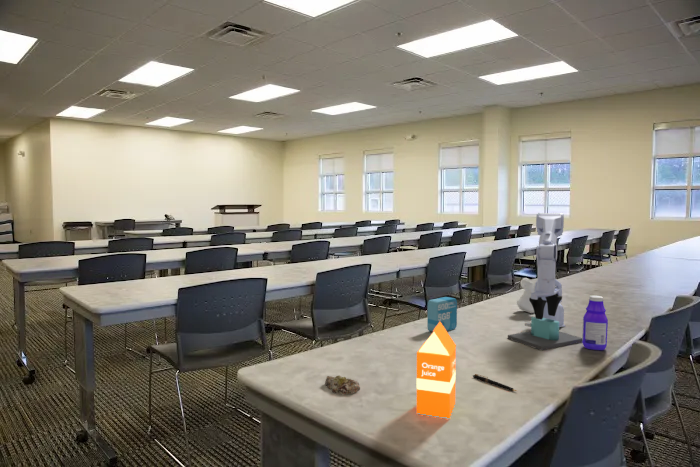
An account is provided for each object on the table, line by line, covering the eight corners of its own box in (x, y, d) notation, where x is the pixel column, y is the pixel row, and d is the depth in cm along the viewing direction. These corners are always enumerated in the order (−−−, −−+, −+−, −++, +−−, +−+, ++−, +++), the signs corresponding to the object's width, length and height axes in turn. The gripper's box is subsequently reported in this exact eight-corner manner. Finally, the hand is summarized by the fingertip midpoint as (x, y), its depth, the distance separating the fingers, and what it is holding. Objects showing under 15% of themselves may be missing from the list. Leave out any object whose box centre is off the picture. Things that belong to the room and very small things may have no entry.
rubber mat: (547, 331, 176) (548, 328, 176) (583, 341, 162) (583, 338, 162) (507, 338, 167) (507, 335, 167) (541, 350, 154) (541, 346, 154)
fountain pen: (519, 393, 120) (520, 387, 120) (517, 394, 119) (517, 389, 119) (473, 377, 131) (473, 372, 131) (470, 378, 130) (471, 373, 130)
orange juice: (415, 414, 108) (416, 328, 107) (424, 399, 116) (424, 319, 115) (450, 419, 105) (451, 332, 104) (456, 404, 113) (456, 322, 112)
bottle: (605, 346, 157) (606, 295, 156) (608, 352, 151) (610, 298, 150) (581, 344, 159) (582, 294, 158) (583, 349, 154) (584, 297, 153)
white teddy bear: (530, 309, 212) (531, 276, 211) (548, 314, 202) (549, 280, 201) (512, 310, 209) (513, 277, 208) (529, 316, 198) (530, 281, 198)
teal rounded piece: (529, 331, 172) (529, 314, 172) (561, 338, 162) (561, 321, 162) (522, 332, 170) (523, 316, 169) (554, 341, 160) (555, 323, 159)
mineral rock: (368, 379, 124) (350, 380, 118) (366, 396, 123) (348, 398, 117) (337, 372, 131) (318, 372, 124) (335, 388, 130) (315, 389, 124)
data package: (436, 334, 173) (436, 302, 172) (427, 331, 177) (427, 300, 176) (457, 328, 181) (457, 297, 180) (447, 326, 184) (448, 296, 183)
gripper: (547, 275, 171) (547, 312, 172) (523, 279, 163) (522, 317, 164) (566, 277, 165) (565, 315, 166) (542, 282, 157) (541, 322, 158)
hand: (545, 317), depth 164 cm, fingers open, 7 cm apart
